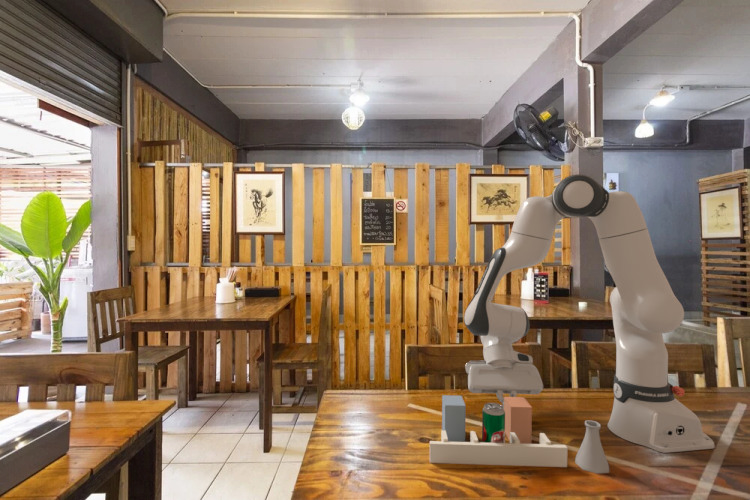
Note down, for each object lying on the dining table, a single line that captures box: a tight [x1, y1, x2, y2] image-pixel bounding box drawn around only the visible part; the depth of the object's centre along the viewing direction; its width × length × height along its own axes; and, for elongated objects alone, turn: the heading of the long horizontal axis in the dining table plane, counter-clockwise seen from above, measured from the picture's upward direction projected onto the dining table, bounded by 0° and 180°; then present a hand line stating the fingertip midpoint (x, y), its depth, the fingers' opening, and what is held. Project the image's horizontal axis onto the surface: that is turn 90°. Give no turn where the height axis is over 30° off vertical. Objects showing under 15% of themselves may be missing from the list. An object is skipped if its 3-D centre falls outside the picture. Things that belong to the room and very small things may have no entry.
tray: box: [429, 429, 568, 468], centre depth 94 cm, size 30×17×6 cm, turn 87°
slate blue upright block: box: [441, 394, 467, 442], centre depth 99 cm, size 5×7×9 cm
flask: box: [574, 419, 610, 475], centre depth 86 cm, size 7×7×10 cm
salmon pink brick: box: [503, 396, 533, 444], centre depth 98 cm, size 5×7×9 cm
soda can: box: [481, 402, 506, 443], centre depth 90 cm, size 5×5×12 cm
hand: (509, 408), depth 105 cm, fingers closed
